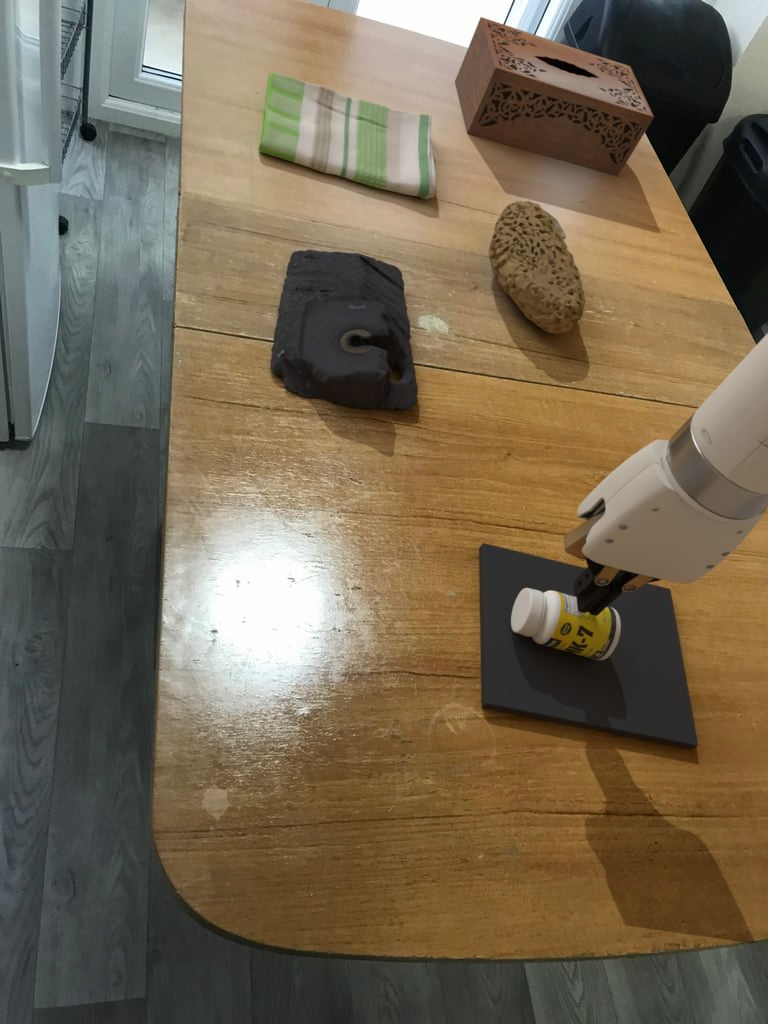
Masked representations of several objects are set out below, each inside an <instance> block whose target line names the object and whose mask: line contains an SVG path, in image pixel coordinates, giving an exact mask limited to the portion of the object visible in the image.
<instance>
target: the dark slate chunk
mask: <svg viewBox="0 0 768 1024" xmlns="http://www.w3.org/2000/svg"><path fill="white" fill-rule="evenodd" d="M286 266H287V267H286V277H285V278H284V281H283V282H284V283H283V284H282V291H281V294H280V299H279V304H278V305H279V306H278V308H277V313H278V314H277V319H276V325H275V328H274V333H273V343H272V345H271V348H270V349H271V356H270V357H271V358H270V366H269V367H270V370H271V371H272V372H273V373H274V374H275V375H277V376H279V377H281V378H282V381H283V384H284V388H285V389H286V390H287V391H288V392H291V393H296V394H297V395H299V396H301V397H306V398H308V399H313V398H318V399H323V400H325V401H329V402H331V403H332V404H337V405H340V406H342V407H347V408H353V409H359V410H364V411H372V410H374V409H378V408H379V409H381V410H383V409H384V410H388V409H391V410H395V408H398V409H401V410H407V411H412V410H413V409H414V407H415V406H416V404H417V403H418V391H419V387H418V382H417V377H416V369H415V363H414V359H413V354H412V350H411V342H410V340H411V338H412V334H411V324H410V323H411V322H410V319H409V316H408V312H407V311H408V306H407V304H406V297H405V296H406V295H405V282H404V278H403V273H402V271H401V270H400V268H398V266H395V265H393V264H391V263H387V262H385V261H382V260H377V259H376V258H375V257H371V256H368V255H366V254H361V253H359V252H342V251H327V250H314V249H306V250H295V251H293V252H292V253H291V254H290V257H289V262H288V263H287V265H286ZM392 372H396V374H397V375H398V377H399V381H397V380H392Z"/></svg>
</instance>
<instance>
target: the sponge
mask: <svg viewBox="0 0 768 1024" xmlns="http://www.w3.org/2000/svg"><path fill="white" fill-rule="evenodd" d="M566 238H567V235H566V233H565V231H564V229H563V228H562V226H561V224H560V223H559V221H558V220H557V218H556V217H555V216H554V215H552V214H551V213H550V212H548V211H547V210H545V209H544V208H542V207H541V205H540V203H535V202H532V201H529V200H525V201H523V200H519V201H518V200H517V201H515V202H511V203H508V205H507V206H506V207H504V209H503V210H502V211H501V213H500V215H499V217H498V218H497V221H496V222H495V225H494V228H493V234H492V238H491V240H490V243H489V247H488V256H489V263H490V267H491V269H492V273H493V276H494V277H495V278H496V279H497V280H496V281H497V283H498V284H499V286H500V287H501V288H502V290H503V292H504V293H505V294H506V295H508V297H510V298H511V299H512V301H513V302H514V303H515V304H516V306H517V307H518V309H519V310H520V311H521V313H523V316H524V317H525V318H526V319H528V320H529V321H531V322H532V323H534V324H535V325H536V326H537V327H538V328H541V329H542V331H545V332H546V333H548V334H556V335H558V334H566V333H569V332H571V331H572V329H573V327H574V325H575V324H576V323H578V322H579V321H580V320H581V319H582V317H583V315H584V309H585V308H584V307H585V304H586V298H585V292H584V288H583V284H582V280H581V274H580V270H579V269H578V266H577V265H576V264H575V260H574V255H573V254H572V253H571V252H570V251H569V250H568V246H567V243H566V241H565V240H566Z"/></svg>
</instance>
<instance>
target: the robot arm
mask: <svg viewBox="0 0 768 1024" xmlns="http://www.w3.org/2000/svg"><path fill="white" fill-rule="evenodd" d="M767 508H768V332H766V334H765V335H764V336H763V338H761V340H760V341H759V342H758V343H757V344H756V345H755V346H754V347H753V349H751V351H749V352H748V354H747V355H746V356H745V357H744V358H743V359H742V360H741V362H739V363H738V365H737V366H736V367H735V368H734V369H733V370H732V371H731V372H730V373H729V374H728V375H727V377H726V378H725V379H724V380H723V381H722V382H721V383H720V384H719V385H718V386H717V387H716V388H715V389H714V391H712V393H711V394H710V395H709V396H708V397H707V398H706V399H705V400H704V401H703V402H702V404H701V405H700V406H699V407H698V408H696V410H695V412H693V413H692V415H690V417H689V418H688V419H687V420H686V421H685V422H684V423H683V424H682V425H681V426H680V427H679V428H678V429H677V430H676V432H675V433H674V434H673V435H672V436H671V437H670V438H669V439H668V440H667V439H660V438H657V439H655V440H654V441H652V442H650V443H648V444H646V445H645V446H643V447H642V448H640V449H639V450H637V451H636V452H635V453H634V454H632V455H631V456H629V457H628V458H627V459H626V460H624V461H623V462H622V463H621V464H619V465H618V466H617V467H616V468H615V469H613V470H612V471H611V472H610V473H609V474H608V475H607V476H606V477H605V478H604V479H603V480H602V481H601V482H600V483H599V484H598V485H596V487H595V488H594V489H592V491H590V493H588V494H587V496H586V497H585V498H584V499H583V500H582V501H581V503H580V504H579V505H578V507H577V508H576V510H577V511H576V512H577V513H576V517H577V518H578V519H582V520H586V521H584V522H583V523H581V524H579V525H578V526H576V527H575V528H574V529H572V530H571V531H569V532H567V533H566V534H565V535H564V536H563V544H564V545H563V547H564V552H565V554H567V555H570V556H572V557H575V558H576V559H579V560H581V561H582V560H584V561H586V564H587V566H586V567H585V568H586V569H585V570H584V571H583V572H582V573H581V574H580V575H579V576H578V577H577V578H576V580H575V582H574V585H573V589H574V595H575V596H576V597H577V607H578V611H579V612H582V613H586V612H589V613H590V614H591V615H595V616H597V615H598V614H600V613H601V612H602V611H603V610H604V609H605V608H606V607H607V606H608V605H609V604H611V603H612V602H613V601H614V600H615V599H616V598H617V597H618V596H619V595H621V593H622V592H623V591H624V592H634V591H636V590H637V589H639V588H640V587H642V586H643V585H645V584H646V583H648V584H651V583H654V582H659V581H661V580H662V581H666V582H670V583H676V584H677V583H678V584H692V583H694V582H696V581H698V580H701V579H702V578H703V577H705V576H706V575H707V574H710V572H711V571H713V570H714V569H715V568H716V567H718V565H720V564H721V563H722V562H724V560H726V559H727V557H729V555H731V554H732V553H733V552H734V551H735V550H736V548H738V547H739V546H740V544H742V543H743V542H744V540H745V539H746V538H747V537H748V536H749V535H750V533H751V532H752V531H753V530H754V528H755V527H756V526H757V524H758V523H759V522H760V520H761V519H762V517H763V516H764V515H765V513H766V510H767Z"/></svg>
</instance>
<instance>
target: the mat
mask: <svg viewBox="0 0 768 1024" xmlns="http://www.w3.org/2000/svg"><path fill="white" fill-rule="evenodd" d="M586 568H587V567H582V566H578V565H576V564H575V565H574V564H571V563H567V562H563V561H559V560H554V559H550V558H546V557H542V556H538V555H534V554H530V553H527V552H522V551H516V550H513V549H509V548H505V547H502V546H498V545H493V544H489V543H486V542H483V543H481V545H480V546H479V548H478V570H479V571H478V574H479V577H478V579H479V580H478V581H479V583H478V584H479V626H480V627H479V633H480V634H479V637H480V638H479V640H480V644H479V645H480V690H481V691H480V693H481V694H480V695H481V698H480V699H481V704H480V705H481V709H487V710H491V711H496V712H502V713H507V714H512V715H516V716H521V717H527V718H531V719H537V720H542V721H546V722H552V723H556V724H561V725H566V726H571V727H576V728H581V729H586V730H593V731H597V732H602V733H608V734H612V735H617V736H623V737H627V738H633V739H636V740H641V741H648V742H653V743H657V744H663V745H668V746H672V747H677V748H683V749H688V750H693V749H695V748H697V747H699V741H698V735H697V731H696V725H695V718H694V714H693V708H692V703H691V696H690V691H689V686H688V680H687V674H686V669H685V663H684V658H683V652H682V645H681V641H680V636H679V630H678V629H679V628H678V624H677V618H676V613H675V608H674V602H673V596H672V590H671V588H670V587H669V588H668V587H664V586H659V585H657V584H652V583H646V584H645V585H643V586H642V587H640V588H639V589H637V590H636V591H634V592H624V591H623V592H622V593H621V595H619V596H618V597H617V598H616V599H615V600H614V601H613V602H612V603H611V604H609V605H608V607H611V608H614V609H615V610H616V611H617V612H618V614H619V617H620V621H621V632H620V637H619V640H618V643H617V645H616V647H615V649H614V651H613V652H612V654H611V655H610V656H609V657H608V658H606V659H604V660H596V659H592V658H589V657H585V656H581V655H577V654H574V653H570V652H567V651H563V650H559V649H556V648H552V647H548V646H544V645H541V644H538V643H536V642H535V641H534V640H533V638H532V636H531V637H528V636H524V635H521V634H518V633H515V632H514V631H513V630H512V627H511V615H512V610H513V606H514V603H515V600H516V598H517V596H518V595H519V593H520V592H521V591H522V590H523V589H524V588H530V589H534V590H538V591H541V592H543V593H544V592H546V591H557V592H560V593H563V594H567V595H570V596H574V597H576V596H575V595H574V589H573V585H574V582H575V580H576V578H577V577H578V576H579V575H580V574H581V573H582V572H583V571H584V570H585V569H586Z"/></svg>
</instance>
